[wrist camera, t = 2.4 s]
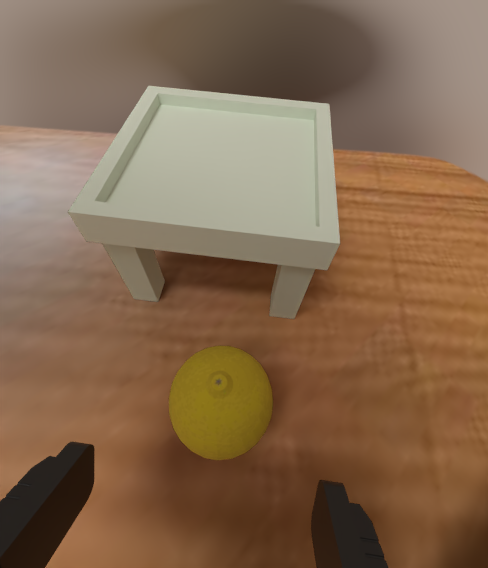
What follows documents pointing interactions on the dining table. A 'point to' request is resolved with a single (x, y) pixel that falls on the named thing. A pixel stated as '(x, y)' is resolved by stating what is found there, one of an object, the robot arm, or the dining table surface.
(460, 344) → the dining table surface
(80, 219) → the stool
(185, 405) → the lemon
